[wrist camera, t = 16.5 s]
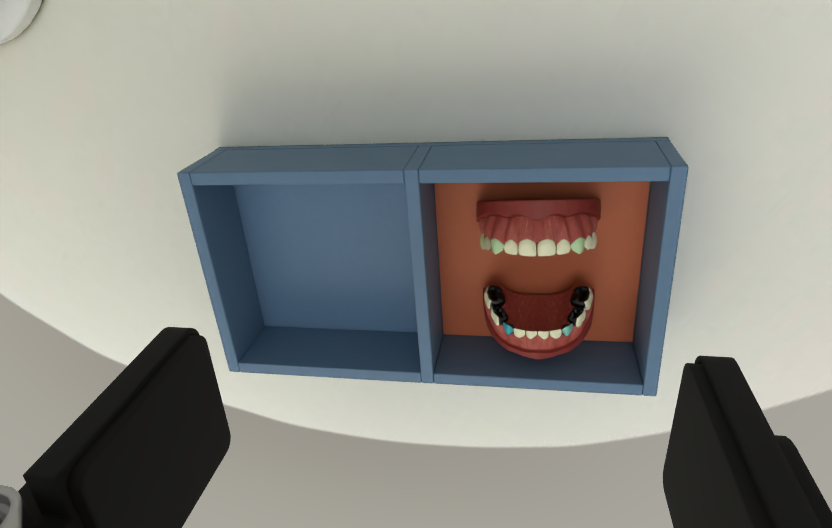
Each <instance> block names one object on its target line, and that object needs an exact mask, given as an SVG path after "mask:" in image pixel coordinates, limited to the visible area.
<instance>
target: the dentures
mask: <svg viewBox="0 0 832 528" xmlns="http://www.w3.org/2000/svg"><path fill="white" fill-rule="evenodd" d="M476 213H477V222H479V227H480V232H481V233H482V235H481V237H480V245H481V248H482V249H483V250H484V249H485V250H486V249H487V250H489V249H490V248H491V249H492V251H493V253H494V254H498V253H500V252H501V251H503V250H505V252H506V253H508V254H511V255H517V254H518V253H519V254H520V255H522V256H536V255H538V256H551V255H554V254H555V253H557V254H558V255H562V254H566V253H569V252H570V249H571V250H573V251H574V252H576V253H578V254H581V253H582V252H583V250H584V248H586V249H587V250H589V249H594V248H595V247H596V244H597V237H596V234H595V232H596V229H597V224H598V221H599V220H601V200H600V199H542V200H502V201H479V202H477V203H476ZM536 244H538V245H536ZM518 246H519V247H518ZM594 299H595V290H594V289H592V288H591V287H589V286H581V285H574V286H573V287H572V288H570V289H569V290H568V291H566V292H563V293H560V294H553V295H527V294H517V293H514V292H511V291H509V290H507V289H506V288H505V287H504V286H503V285H501V284H497V285H494V286H486V288H483V305H484V314H485V320H486V324H487V327H488V329H489V330H490V332H491V334H492V336H493V337H494V339H495V340H496V341H497V342H498V343H499V344H500V345H502V346H503V347H504V348H505V349H507V350H508V351H511V352H515V353H517V354H520V355H522V356H525V357H528V358H533V359H544V358H550V357H554V356H556V355H559V354H563V353H566V352H569V351H570V350H572V349H573V348H575V347H576V346H577V345H579V344H580V343H581V342H582V340H583V339H584V338H585V336H586V334H587V333H588V331H589V329H590V327H591V324H592V318H593V311H594Z"/></svg>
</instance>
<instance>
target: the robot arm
mask: <svg viewBox="0 0 832 528" xmlns="http://www.w3.org/2000/svg"><path fill="white" fill-rule="evenodd" d="M41 2H42V0H0V45H2V44H4V43H6V42H8V41H10V40H12V39H14V38H16V37H17V36H18V35H19V34H20V33H21V32H22V31H24V30H25V29H26V28H27V27H28V26H29V25H30V23H31V22H32V20H33V18H34V17H35V15H36V13H37V12H38V10H39V8H40V5H41ZM230 436H231V435H230V431H229V427H228V422H227V419H226V414H225V411H224V407H223V403H222V399H221V395H220V391H219V387H218V383H217V380H216V376H215V372H214V368H213V364H212V360H211V356H210V352H209V349H208V345H207V341H206V339H205V338H204V337H203V336H200V335H199V333H198V331H197V330H196V329H193V328H178V327H167V328H164V329H163V330H162V331H161V332H160V333H159V334H158V335H157V336H156V337H155V338H154V339H153V340H152V341H151V342H150V343H149V344H148V345H147V346H146V347H145V349H144V350H143V351H142V352H141V353H140V354H139V355H138V356H137V357H136V358H135V359H134V360H133V361H132V362H131V363H130V364H129V365H128V366H127V367H126V368H125V369H124V370H123V372H122V373H121V374H120V375H119V376H118V377H117V378H116V379H115V380H114V381H113V382H112V383H111V384H110V385H109V386H108V387H107V388H106V389H105V390H104V391H103V392H102V393H101V394H100V395H99V396H98V398H97V399H96V400H95V401H94V402H93V403H92V404H91V405H90V406H89V407H88V408H87V409H86V410H85V411H84V412H83V413H82V414H81V415H80V416H79V417H78V418H77V420H75V421H74V423H73V424H72V425H71V426H70V427H69V428H68V429H67V430H66V431H65V432H64V433H63V434H62V435H61V436H60V437H59V438H58V439H57V440H56V441H55V442H54V443H53V444H52V445H51V447H50V448H49V449H48V450H47V451H46V452H45V453H44V454H43V455H42V456H41V457H40V458H39V459H38V460H37V461H36V462H35V463H34V464H33V465H32V466H31V467H30V468H29V469H28V470H27V471H26V473H25V474H24V475H23V477H24V479H25V481H26V484H25V485H24V486H23V487H22V488H21V489H20V490H19V491H16V490H15V489H14V488H12V487H8V486H3V485H0V528H182V526H183V525H184V523H185V521H186V519H187V518H188V516H189V515H190V513H191V511H192V510H193V508H194V506H195V504H196V503H197V501H198V500H199V498H200V496H201V495H202V493H203V491H204V489H205V488H206V486H207V484H208V483H209V481H210V479H211V478H212V476H213V474H214V473H215V471H216V469H217V468H218V466H219V464H220V463H221V461H222V459H223V458H224V456H225V454H226V453H227V451H228V448H229V445H230ZM663 486H664V492H665V495H666V500H667V504H668V508H669V511H670V515H671V519H672V523H673V527H674V528H832V512H831V510H830V508H829V507H828V505H827V503H826V501H825V499H824V498H823V496H822V494H821V492H820V490H819V488H818V487H817V485H816V483H815V481H814V479H813V478H812V476H811V474H810V472H809V470H808V468H807V466H806V465H805V463H804V461H803V459H802V457H801V456H800V454H799V452H798V450H797V448H796V447H795V445H794V444H793V442H792V441H791V440H790V439H789V438H787V437H786V436H777V435H774V434H773V432H772V430H771V428H770V426H769V424H768V422H767V420H766V418H765V416H764V414H763V412H762V410H761V408H760V406H759V404H758V402H757V401H756V399H755V397H754V395H753V393H752V391H751V389H750V387H749V385H748V383H747V381H746V379H745V377H744V375H743V373H742V371H741V370H740V368H739V366H738V364H737V362H736V361H735V359H734V358H732V357H714V356H698V357H697V358H696V360H695V364H694V363H687V364H685V366H684V369H683V374H682V379H681V384H680V389H679V394H678V399H677V404H676V409H675V414H674V419H673V424H672V429H671V435H670V439H669V445H668V449H667V454H666V459H665V464H664V470H663Z"/></svg>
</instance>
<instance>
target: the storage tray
mask: <svg viewBox="0 0 832 528" xmlns="http://www.w3.org/2000/svg"><path fill="white" fill-rule="evenodd" d="M687 173H688V165H687V164H686V163H685V161H684V160H683V158H682V157H681V156H680V154H679V153H678V151H677V150H676V149H675V147H674V146H673V144H672V143H671V142H670V140H669V138H668V137H660V138H615V139H570V140H525V141H480V142H435V143H390V144H345V145H300V146H255V147H219V148H218V149H216V150H215V151H213V152H212V153H210V154H208V155H207V156H205V157H203V158H202V159H200V160H198V161H197V162H195V163H193V164H191V165H190V166H188V167H186V168H185V169H183V170H181V171H180V172H178V173H177V175H178V179H179V182H180V186H181V190H182V194H183V197H184V201H185V205H186V209H187V212H188V216H189V220H190V224H191V227H192V231H193V235H194V239H195V242H196V246H197V250H198V254H199V258H200V261H201V265H202V269H203V273H204V276H205V280H206V284H207V288H208V291H209V295H210V299H211V303H212V306H213V310H214V314H215V318H216V322H217V325H218V329H219V333H220V337H221V340H222V344H223V348H224V352H225V355H226V359H227V363H228V367H229V370H230V371H233V372H248V373H265V374H282V375H299V376H316V377H333V378H350V379H367V380H385V381H402V382H419V383H421V382H422V383H438V384H456V385H473V386H490V387H507V388H524V389H541V390H558V391H575V392H593V393H610V394H627V395H642V394H643V395H644V396H656V394H657V387H658V380H659V373H660V366H661V359H662V352H663V344H664V337H665V330H666V323H667V316H668V309H669V302H670V295H671V287H672V280H673V273H674V266H675V259H676V252H677V245H678V238H679V230H680V223H681V216H682V209H683V202H684V195H685V188H686V181H687ZM542 199H600V200H601V220H599V221H598V224H597V229H596V232H595V234H596V237H597V244H596V247H595V248H594V249H589V250H587V249H586V248H584V250H583V252H582V253H581V254H578V253H576V252H574V251H573V250H571V249H570V252H569V253H566V254H562V255H558V254H557V253H555V254H554V255H551V256H538V255H536V256H522V255H520V254H519V253H518V254H517V255H511V254H508V253H506V252H505V250H503V251H501V252H500V253H498V254H494V253H493V251H492V249H491V248H490V249H489V250H487V249H486V250H485V249H484V250H483V249H482V248H481V245H480V237H481V235H482V233H481V232H480V227H479V222H477V213H476V203H477V202H479V201H502V200H542ZM536 245H538V244H536ZM518 247H519V246H518ZM497 284H501V285H503V286H504V287H505V288H506V289H507V290H509V291H511V292H514V293H517V294H527V295H553V294H560V293H563V292H566V291H568V290H569V289H570V288H572V287H573V286H574V285H581V286H589V287H591V288H592V289H594V290H595V299H594V311H593V318H592V324H591V327H590V329H589V331H588V333H587V334H586V336H585V338H584V339H583V340H582V342H581V343H580V344H579V345H577V346H576V347H575V348H573V349H572V350H570V351H569V352H566V353H563V354H559V355H556V356H554V357H550V358H544V359H533V358H528V357H525V356H522V355H520V354H517V353H515V352H511V351H508V350H507V349H505V348H504V347H503V346H502V345H500V344H499V343H498V342H497V341H496V340H495V339H494V337H493V336H492V334H491V332H490V330H489V329H488V327H487V324H486V320H485V314H484V305H483V288H486V286H494V285H497Z"/></svg>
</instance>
